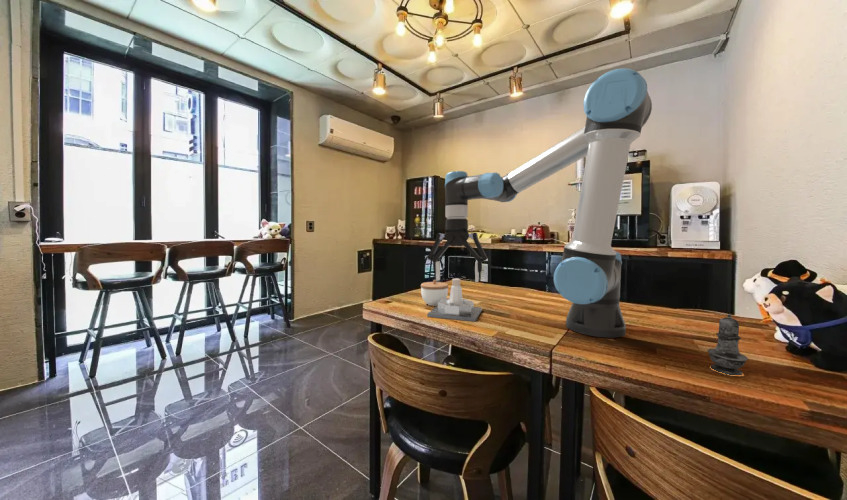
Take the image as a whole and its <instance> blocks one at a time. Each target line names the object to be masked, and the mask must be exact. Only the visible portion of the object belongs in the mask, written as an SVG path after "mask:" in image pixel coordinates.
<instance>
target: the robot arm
mask: <svg viewBox="0 0 847 500" xmlns="http://www.w3.org/2000/svg"><path fill="white" fill-rule="evenodd" d="M583 98H584V99H583V111H584V114H585V116H586V120H585V125H584V127H582V128H580V129H578V130H576V131H575V132H574V133H572V134H571V135H569V136H567V137H565V138H564V139H562V140H560V141H559V142H557V143H555V144H554V145H552V146H551V147H549V148H548V149H546V150H544V151H543V152H541V153H539V154H537V155H535V156H534V157H533V158H531V159H530V160H528V161H526V162H525V163H523V164H521V165H520V166H518V167H517V168H514V169H513V170H512V171H509V173H506V174H505V175H504V176H501V174H500V173H498V172H486V173H485V172H484V173H481V174H476V175H470V176H468V173H467V172H466V171H465V170H464V171H463V170H456V171H455V170H454V171H450V172H447V173H446V174H445V179H444V180H445V181H444V182H445V183H444V191H445V193H444V195H445V196H444V197H445V218H446V220H445V233H440V232H438V233H436V237H435V241H434V243H433V245H432V247H431V250H430V252H429V254H428V256H427V260H429V261H432V269H433V270H432V271H434V272H435V280H436V282H440V280H441V261H439V259H440V258H441V257H442V256H443V254H444V253H445V252H446V251H447V249H448V248H449V247H450V246H451V247H455V246H457V247H462V246H464V247H465V249H467V251H468V252H469V254H470V255H472V257H473V258H474V260H475V265H474V276H475V277H474V278H475V279H474V283H478V282H479V281H480V277H479V275H480V273H481V272H482V271H483V262H484V261H487V260H488V256H487V253H486V251H485V250H484V248H483V246H482V244H481V242H480V240H479V237H478V236H479V235H478V233H477V232H471V233H469V220H468V219H467V218H468V217H469V216H468V215H469V213H468V212H469V211H468V209H469V206H468V204H469V202H468V201H470V200H471V201H472V200H487V201H488V200H490V201H494V202H499V203H507V202H508V203H509V202H511V201H514V199H515V198H516V197H517V195H519V194H520V193H521V192H524V191H525V190H527V189H528V188H530V187H532V186H534V185H536V184H538V183H539V182H541V181H542V182H543V180H545V179H547V178H549V177H551V176H553V175H555V174H556V173H558V172H560V171H562V170H563V169H566V168H567V167H569V166H571V165H572V164H573V165H574V163H576V162H579V161H580V160H582V159H583V158H586V159H585V160H586V161H585V166H584V170H583V176H582V183H581V187H580V193H579V197H578V198H579V199H578V203H577V204H578V205H577V211H576V214H575V215H576V216H575V221H574V227H573V233H572V238H571V240H570V241H569V242H567V243H566V244H565V245H564V247H563V252H562V256H561V261H560V262H559V264H558V265H557V267H556V268H555V270H554V273H553V284H554V287H555V289H556V291H557V292H558V293H559V294H560V296H561V297H562V298H564V299H565V300H567V301H568V302H570V303H571V305H570V307H569V310H568V313H567V316H566V319H565V327H566V328H568V329H569V330H571V331H572V332H576V333H578V334H582V335H586V336H591V337H597V338H607V339H608V338H610V339H611V338H621V337H624V336H626V333H627V332H626V331H627V326H626V322H625V320H624V316H623V313H622V310H621V305H620V298H621V278H622V276H621V275H622V273H621V272H622V265H623V260H622V255H621V253H620V252H619V251H616V250H614V249H613V247H612V242H613V241H612V239H613V237H614V235H613V234H614V229H615V225H616V220H617V215H618V211H619V205H620V200H621V195H622V190H623V184H624V180H625V175H626V170H627V164H628V159H629V153H630V149H631V145H632V143H633V142H635V141H636V140H637V139H639V138H640V137H641V133H642V128H643V127H644V126H645V125H646V124H647V122H648V120H649V119H650V116H651V114H652V110H653V107H652V106H653V104H652V99H651V96H650V95H649V92H648V83H647V81H646V79H645V78H644V77H643V75H641V73H639V71H637V70H634V69H631V68H627V67H626V68H625V67H624V68H622V67H621V68H616V69H612V70H609V71H607V72H605V73H603V74H602V75H600V76H599V77H598V78H596V80H594V81H593V82H592V83H591V84H590V86H589V87H588V89H587V90H586V92H585V95H584V97H583ZM443 239H445V240H446V242H445V243H444V244H443V246H442V247H441V249H440V250H439V251H438V252H437V250H438V249H439V246H440V244H441V241H442V240H443ZM469 239H471V240H473V242H474V244H475V247H476V249H477V250H478V252H479V254H478V252H476V250H475V249H474V248H473V246H472V245H470V243H469V242H468V240H469Z"/></svg>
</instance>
